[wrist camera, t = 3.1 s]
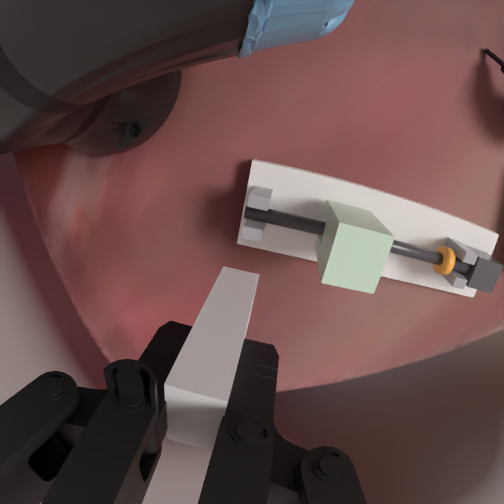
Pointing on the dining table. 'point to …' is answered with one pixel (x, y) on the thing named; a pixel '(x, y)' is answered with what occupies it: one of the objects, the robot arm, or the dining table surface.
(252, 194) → the linear slide rail
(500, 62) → the power plug
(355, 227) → the pale green block
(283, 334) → the dining table surface
